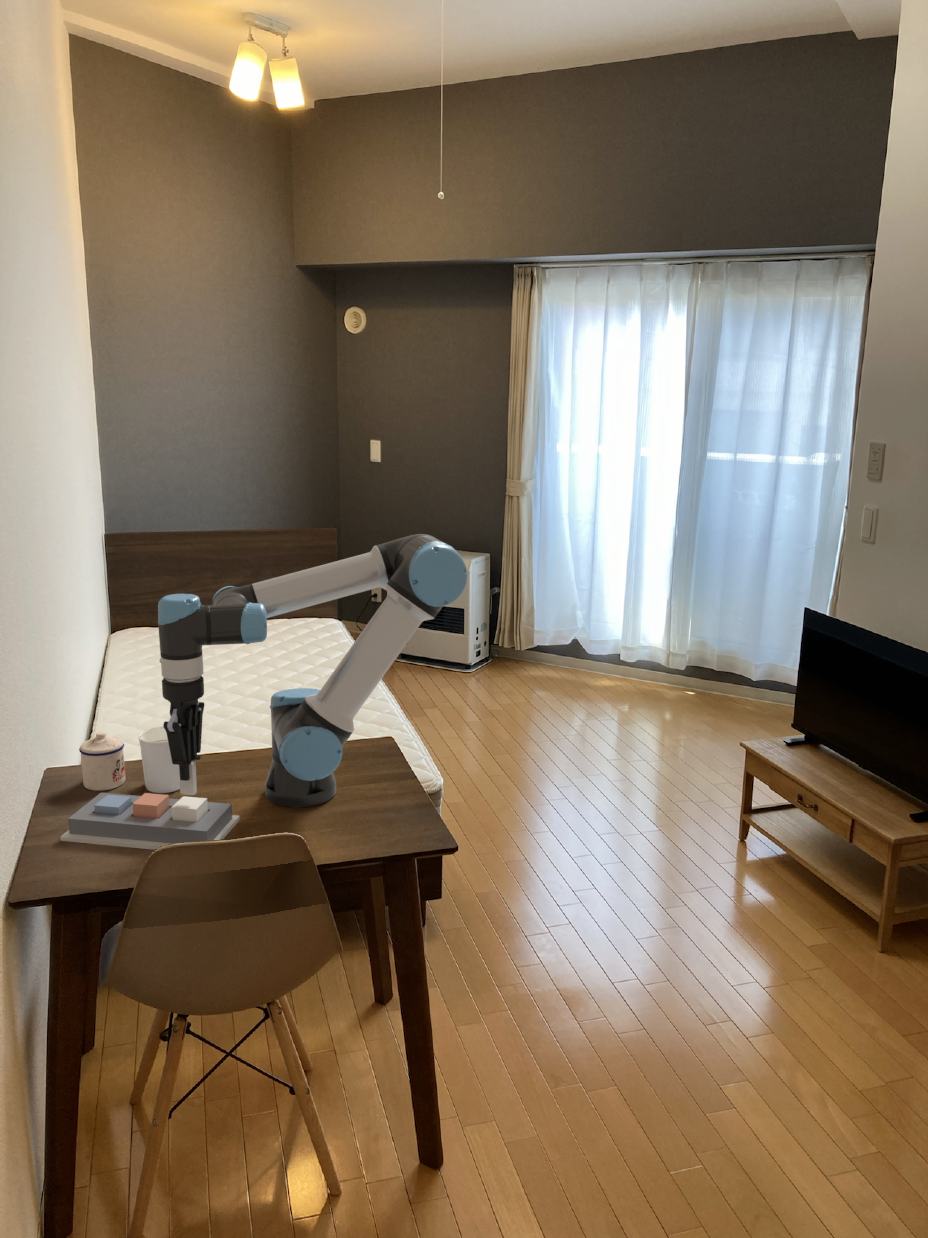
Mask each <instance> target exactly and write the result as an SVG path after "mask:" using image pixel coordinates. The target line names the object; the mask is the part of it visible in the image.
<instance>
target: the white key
mask: <svg viewBox="0 0 928 1238" xmlns="http://www.w3.org/2000/svg"><path fill="white" fill-rule="evenodd" d="M179 799H180V800H179V801H178V802H177V803H176V804H174V805H173V806H172V820H176V821H187V822H199V821H200V820H201V819H202V818H203V817H204V816H205V815H206V814H207V813H208V804H207V802H208V798H207V797H198V796H197V797H195V796H186V795H185V796H184V795H183V796H182V797H180V798H179Z"/></svg>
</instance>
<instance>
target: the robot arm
mask: <svg viewBox="0 0 928 1238" xmlns="http://www.w3.org/2000/svg"><path fill="white" fill-rule="evenodd" d="M467 582H468V569H467V565H466V563H465V560H464V559H463V557H462V556H461V554H460V552H458V551H457V550H456V549H455V548H454V547H453V546H451V545H450V544H448V543H446V542H443V541H442V540H440V539H439V538H437V537H435V536H433V535H430V534H426V533H425V534H424V533H417V534H411V535H407V536H404V537H400V538H397V539H394V540H391V541H390V540H389V541H388V542H384V543H380V544H375V545H374V546H373V547H372V548H371V550H370V551H368V552H366V553H362V554H358V555H355V556H351V557H347V558H344V559H339V560H337V561H332V562H329V563H325V564H322V565H318V566H313V567H310V568H306V569H302V570H299V571H295V572H291V573H288V574H287V573H286V574H284V575H280V576H276V577H272V578H268V579H264V580H262V581H258V582H254V583H251V584H246V585H242V586H232V585H227V586H224V587H221V588H220V589H218V590H217V591H216V592H215V594H214V596H213V597H212V601H211V605H209V604H208V605H207V604H206V605H205V604H202V602H201V599H200V597H199V596H198V595H195V594H193V593H174V594H168V595H164V596H163V597H161V598H160V600H158V602H157V603H158V605H157V618H158V619H157V625H158V638H159V655H160V658H159V664H160V666H161V667H160V668H161V676H162V678H163V679H162V680H161V687H162V688H161V691H162V698H163V699H164V700H165V701H168V702H169V703H170V705H169V715H170V718H169V720H168V721H166V720H165V721H164V722H163V726H164V729H165V731H166V733H167V738H168V743H169V748H170V753H171V759H172V763H173V764H176V765H179V777H180V789H179V790H180V795H183V796H184V795H185V796H186V795H187V796H195V795H196V794H197V793H198V789H197V788H198V787H197V785H198V784H197V768H196V767H197V766H196V765H197V763H196V760H197V761H199V760H201V757H202V755H199V753H201V749H202V736H203V735H202V734H203V716H204V715H203V714H204V709H205V702H204V701H203V702H201V701H199V699H201V698H202V697H203V696H204V694H205V685H204V684H205V683H204V682H205V681H204V676H202V675H204V673H205V672H204V660H203V656H204V655H203V646H217V645H218V646H219V645H244V644H245V645H250V644H255V643H256V644H257V643H262V642H264V641H265V640H266V639H267V636H268V619H269V618H272V617H275V616H280V615H284V614H286V613H290V612H294V611H297V610H302V609H305V608H308V607H312V606H315V605H320V604H323V603H327V602H330V601H334V600H338V599H342V598H344V597H348V596H352V595H356V594H360V593H364V592H368V591H370V590H373V589H378V588H380V589H383V590H385V591H386V592H387V594H386V598H385V599H384V600H383V601H382V602H381V604H380V606H379V607H378V608H377V610H376V611H375V613H374V615H373V616H372V617H371V619H370V620H369V621H368V622H367V624H366V626H365V627H364V629H363V630H362V631H361V632H360V634H359V635H358V637H357V638H356V639H355V641H354V643H353V644H352V645H351V646H350V648H349V649H348V651H347V652H346V654H345V655H344V656H343V658H342V659H341V661H339V663H338V664H337V666H336V668H335V669H334V670H333V672H332V673H331V675H330V676H329V677H328V678H327V679H326V680H327V681H326V682H325V683H324V685H323V686H322V687H321V688H320V689H317V688H310V687H309V688H308V687H304V688H303V687H300V688H289V689H283V690H280V691H279V690H278V691H276V692H275V693H273V694H272V695H271V697H270V705H269V709H270V718H271V719H270V721H271V725H270V726H271V752H272V755H271V756H272V758H271V759H272V760H271V761H272V762H271V765H270V767H269V770H268V774H267V777H266V780H265V784H264V794H265V798H266V800H268V802H270V803H272V804H274V805H277V806H281V807H286V808H306V807H307V808H308V807H313V806H317V805H321V804H323V803H325V802H327V801H330V800H331V799H332V798H333V797H334V796H335V795H336V793H337V780H336V777H335V775H334V772H335V771H336V770H337V769H338V767H339V766H340V764H341V761H342V757H343V747H344V746H345V744H346V743H347V741H348V740H349V738H350V737H351V735H352V734H353V733H354V731H355V726H354V725H355V724H354V718H355V717H356V715H357V714H358V713H359V711H360V710H361V708H362V707H363V705H364V704H365V703H366V701H367V700H368V699H369V697H370V696H371V695H372V693H373V692H374V690H375V689H376V687H377V686H378V685H379V683H380V682H381V680H382V679H383V677H385V674H386V673H387V672H388V670H389V669H390V668H391V667H392V665H393V663H394V662H395V661H396V659H397V658H398V657H399V655H400V654H401V652H402V651H403V649H404V648H405V647H406V646H407V644H408V642H409V641H410V640H411V639H412V637H413V636H414V634H415V633H416V631H417V629H418V628H419V627H420V625H422V623H423V622H424V621H425V622H426V621H430V620H435V618H436V617H437V615H438V614H439V612H440V611H441V610H442V608H444V606H447V605H450V604H452V603H454V602H455V601H456V600H458V599H459V598H460V596H461V595H462V594H463V592H464V590H465V588H466V585H467Z"/></svg>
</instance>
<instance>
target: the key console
mask: <svg viewBox="0 0 928 1238" xmlns="http://www.w3.org/2000/svg"><path fill="white" fill-rule="evenodd" d="M107 795H118V796H130V797H131V802H132V805H131V806H130V807H129V808H128V809H127V810H125V811H124V812H123V813H122V814H121V815H110V814H99V813H95V807H94V805H95V804H97V803H98V802H99V801H100V800H102V799H103V798H104V797H105V796H107ZM141 796H142V795H132V794H123V793H122V794H120V793H113V792H112V793H111V792H110V793H109V792H100V793H98V794H97V795H96V796H95V797H93V798H92V799H91V800H90V801H88V802H87V803H86V804H85V805H83V806H81V808H79V809H78V810H77V811H76V812H75V813H73V814H72V815H71V816H69V817H68V818H67V820H68V830H67V831H65V832H64V833H63V834H62V835H61V836H60V841H61V842H71V843H82V844H91V845H101V846H111V847H122V848H132V849H133V848H135V849H141V850H143V849H145V850H152V851H153V850H155V849H157V848H159V847H160V846H165V845H168V844H171V843H184V842H194V841H204V840H220V839H223V840H224V839H225V837H226V836H227V835H228V834H229V833H230V832H231V830H232V829H233V828H234V827H235V826H236V825H237V824H238V823H239V822H240V820H241V816H240V815H235V814H233V808H232V807H233V806H232V803H226V802H212V801H207V804H208V813H207V814H206V815H205V816H204V817H203V818H202V819H201V820H200V821H199V822H187V821H176V820H172V806H173V805H174V804H176V803H177V802H178V801H179V800H180V799H181V798H169V807H170V809H169V810H168V811H166V812H165V813H164V814H163V815H162V816H161V817H160V818H159V819H154V818H143V817H133V803H134V802H135V801H136V800H137V799H139V798H140V797H141ZM155 851H156V850H155Z"/></svg>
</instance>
